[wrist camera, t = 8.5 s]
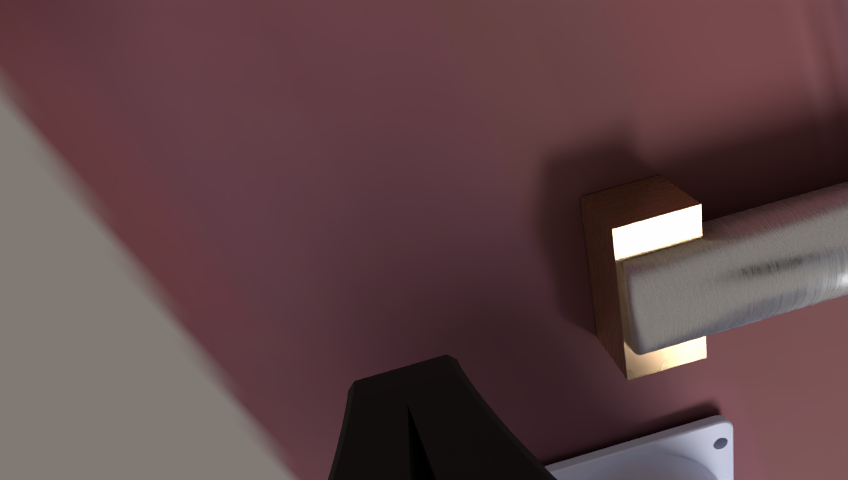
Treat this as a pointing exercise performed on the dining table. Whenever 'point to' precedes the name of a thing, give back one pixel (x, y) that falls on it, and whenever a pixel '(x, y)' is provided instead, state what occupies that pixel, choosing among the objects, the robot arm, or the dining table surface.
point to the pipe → (704, 267)
